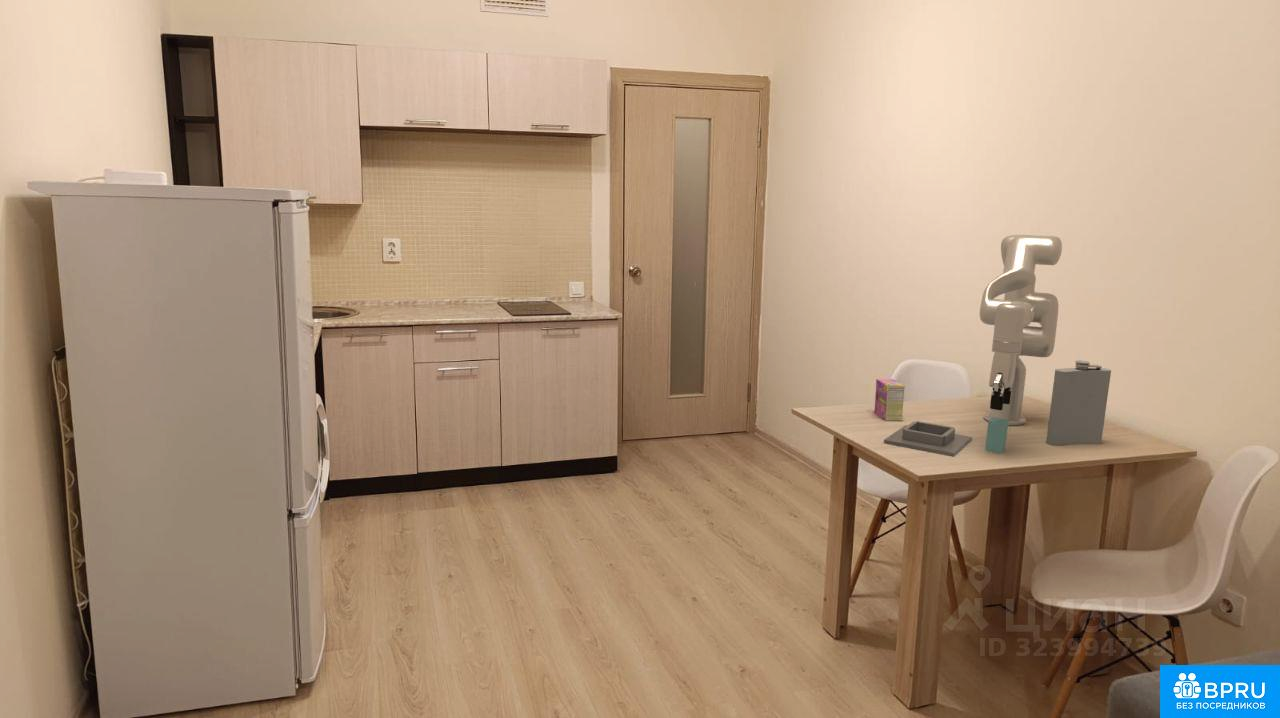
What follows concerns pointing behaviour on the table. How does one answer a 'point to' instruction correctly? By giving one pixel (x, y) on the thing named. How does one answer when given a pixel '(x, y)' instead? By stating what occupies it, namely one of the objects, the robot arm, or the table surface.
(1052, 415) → the flask
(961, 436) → the well
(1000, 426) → the block
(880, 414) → the box
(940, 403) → the table surface
